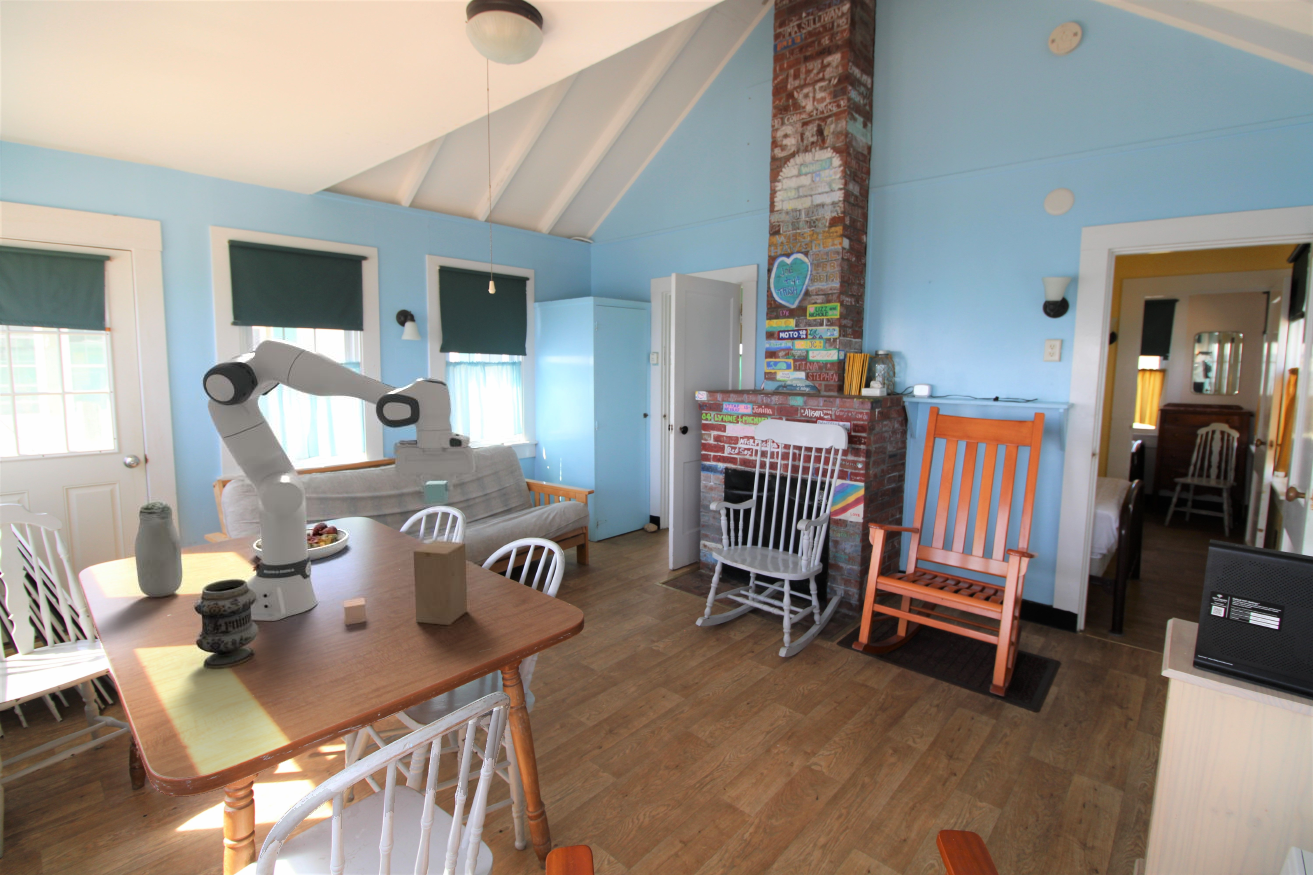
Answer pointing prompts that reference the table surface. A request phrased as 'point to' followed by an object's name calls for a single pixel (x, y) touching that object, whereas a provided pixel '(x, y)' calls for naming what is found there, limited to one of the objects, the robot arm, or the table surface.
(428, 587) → the wooden block
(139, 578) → the grey rounded bottle
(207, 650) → the apothecary jar
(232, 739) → the table surface
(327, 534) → the bowl
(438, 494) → the teal cube
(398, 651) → the table surface
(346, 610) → the clay block
